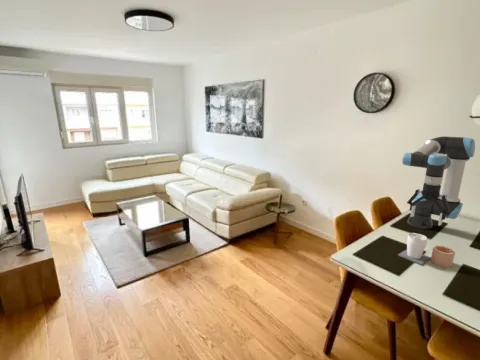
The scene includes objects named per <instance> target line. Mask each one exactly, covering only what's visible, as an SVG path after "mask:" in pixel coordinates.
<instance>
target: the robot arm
mask: <svg viewBox="0 0 480 360" xmlns="http://www.w3.org/2000/svg"><path fill="white" fill-rule="evenodd" d="M475 150H476V143H475V139H474V138H471V137H463V136H462V137H461V136H446V135H445V136H443V135H442V136H438V137H434V138H431V139H429V140H427V141H425V142H424V144H423V145H422V146H421V147H419V148H417V150H415V151H414V152H405V153H404V154H403V155H402V165H404V166H408V167H414V168H415V167H416V168H424V169H425V170H426V171H425V175H424V181H423V182H424V183H423V186H422V190H421V189H420V188H417V189H415V192H414V194H412V196H411V197H410V198H408V201H407V202H406V204H408V205H410V206H409V211H410V215H409V217H408V219H407V221H406V222H407V225H409V226H411V227H412V228H417V229H421V230H430V229H432V228H433V225H434V223H433V219H432V215H435V216H438V217H439V218H438V219H439V220H438V224H437V225H438V226H441V225H443V221H444V220H446V219H452V220H456V219H457V218H458V216H459V215H460V213H461V210H462V208H463V205H464V204H463V203H462V202H461V198H459V195H460V191H461V185H462V182H463V177H464V171H465V166H466V163H467V162H468V161H470V159H471V158H473V157H474V156H475ZM445 170H446V173H445ZM444 173H445V177H444ZM443 177H444V178H443ZM443 179H444V183H443ZM442 183H443V188H441V187H442ZM441 189H442V193H441Z"/></svg>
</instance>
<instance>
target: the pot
mask: <svg viewBox="0 0 480 360" xmlns="http://www.w3.org/2000/svg"><path fill="white" fill-rule="evenodd" d="M430 257H431V259H430V260H431V262H432V264H434V265H436V266H439V267H442V268H451V267H452V265H453V264H454V259H455V257H456V251H454V249H452V248H450V247H448V246H445V245H436V244H435V245H434V246H433V248H432V252H431V256H430Z"/></svg>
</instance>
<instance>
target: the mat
mask: <svg viewBox="0 0 480 360" xmlns="http://www.w3.org/2000/svg"><path fill="white" fill-rule="evenodd" d="M397 256H398V257H401V258H402V259H404V260H408V261H410V262H412V263H415V264H417V265H420V266H423V265H424V264H425V263H427V262H428V261H429V260H431V256H429V255H426V254H422V256H421V258H419V259H416V258H412V257H410V256H408V255H407V248H406V249H405V250H402V251H401V252H400V253H398V254H397Z"/></svg>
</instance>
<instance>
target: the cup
mask: <svg viewBox="0 0 480 360" xmlns="http://www.w3.org/2000/svg"><path fill="white" fill-rule="evenodd" d="M407 234H408V235H407V239H406V249H407V255H408V256H410V257H412V258H416V259H419V258H421V256H422V254H423V253H424V251H425V248H426V245H427V239H428V238H427V236H426V235H424V234H422V233H415V232H410V233H407ZM423 255H424V254H423Z"/></svg>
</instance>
